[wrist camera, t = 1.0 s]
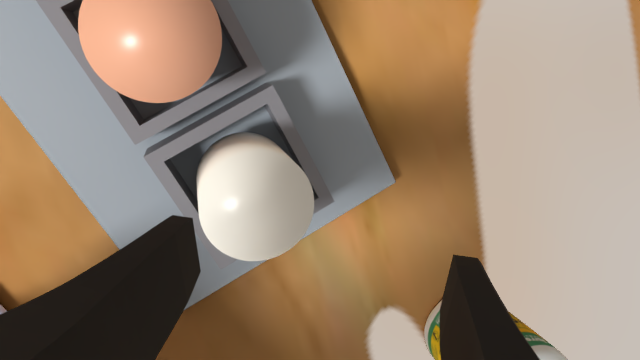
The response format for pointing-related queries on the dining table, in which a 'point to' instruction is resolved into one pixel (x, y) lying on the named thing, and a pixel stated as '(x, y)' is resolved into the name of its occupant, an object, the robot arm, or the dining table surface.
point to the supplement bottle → (544, 350)
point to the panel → (190, 119)
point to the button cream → (252, 197)
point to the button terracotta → (151, 45)
